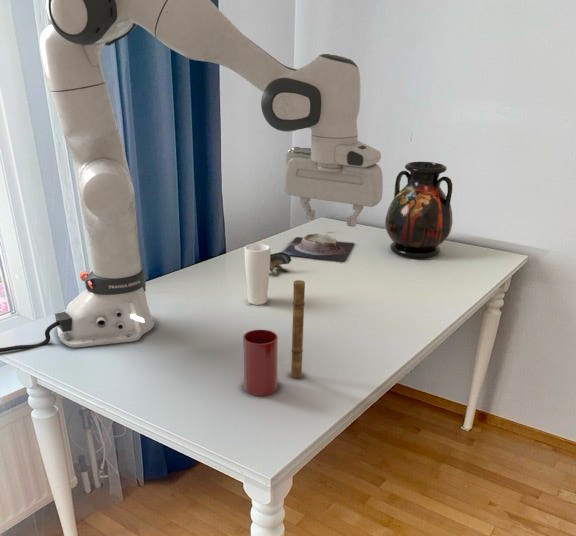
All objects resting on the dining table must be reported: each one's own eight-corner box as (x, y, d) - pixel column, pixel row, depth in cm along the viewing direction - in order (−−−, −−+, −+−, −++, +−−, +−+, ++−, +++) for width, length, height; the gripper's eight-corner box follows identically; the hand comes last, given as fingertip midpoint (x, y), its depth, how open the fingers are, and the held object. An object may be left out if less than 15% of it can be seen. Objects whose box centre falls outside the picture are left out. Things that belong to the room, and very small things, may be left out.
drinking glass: (266, 307, 158) (267, 252, 151) (242, 305, 159) (241, 250, 152) (272, 298, 164) (273, 244, 156) (248, 295, 165) (247, 242, 158)
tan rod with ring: (294, 379, 126) (296, 285, 115) (288, 374, 128) (291, 281, 117) (303, 377, 127) (307, 283, 116) (298, 372, 129) (301, 279, 118)
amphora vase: (370, 254, 199) (379, 165, 185) (399, 238, 214) (409, 156, 200) (431, 267, 188) (445, 175, 174) (457, 250, 204) (471, 164, 190)
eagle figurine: (270, 276, 175) (295, 266, 178) (260, 254, 174) (285, 243, 178) (261, 282, 182) (285, 272, 185) (251, 261, 181) (275, 251, 185)
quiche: (280, 255, 195) (280, 243, 193) (295, 238, 212) (296, 226, 210) (343, 262, 191) (344, 250, 189) (354, 243, 208) (355, 232, 206)
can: (252, 399, 119) (252, 347, 113) (238, 383, 124) (237, 333, 118) (282, 391, 122) (283, 340, 116) (267, 376, 127) (268, 327, 121)
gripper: (278, 148, 117) (278, 218, 124) (376, 158, 109) (370, 234, 116) (294, 143, 122) (292, 212, 129) (389, 153, 114) (382, 226, 121)
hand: (330, 222), depth 122 cm, fingers open, 8 cm apart
